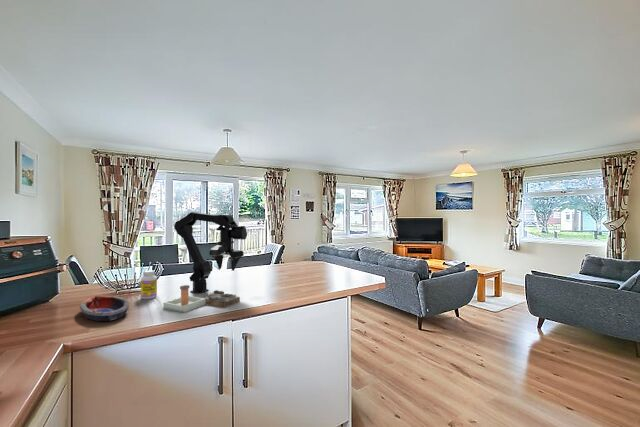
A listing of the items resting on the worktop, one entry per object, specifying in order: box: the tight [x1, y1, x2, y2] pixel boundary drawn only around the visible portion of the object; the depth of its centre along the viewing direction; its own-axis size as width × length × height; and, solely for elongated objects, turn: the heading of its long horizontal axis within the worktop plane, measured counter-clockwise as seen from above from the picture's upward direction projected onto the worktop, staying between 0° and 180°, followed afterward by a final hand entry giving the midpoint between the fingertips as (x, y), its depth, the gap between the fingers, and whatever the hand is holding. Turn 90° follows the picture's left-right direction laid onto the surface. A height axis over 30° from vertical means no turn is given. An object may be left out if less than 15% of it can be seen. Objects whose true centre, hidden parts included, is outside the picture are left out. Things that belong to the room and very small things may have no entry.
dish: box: [79, 295, 130, 322], centre depth 121 cm, size 16×31×5 cm, turn 46°
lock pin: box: [179, 284, 190, 306], centre depth 129 cm, size 4×4×8 cm
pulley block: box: [203, 289, 241, 308], centre depth 135 cm, size 14×10×5 cm
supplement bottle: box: [140, 269, 158, 300], centre depth 143 cm, size 7×7×13 cm
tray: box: [162, 295, 207, 313], centre depth 129 cm, size 12×12×2 cm
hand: (226, 269), depth 150 cm, fingers open, 9 cm apart
